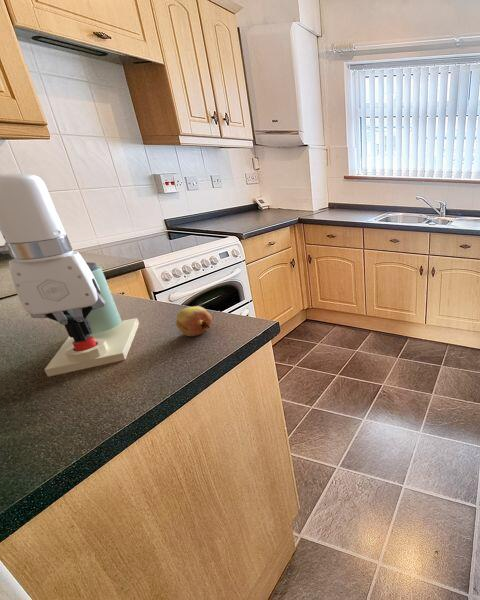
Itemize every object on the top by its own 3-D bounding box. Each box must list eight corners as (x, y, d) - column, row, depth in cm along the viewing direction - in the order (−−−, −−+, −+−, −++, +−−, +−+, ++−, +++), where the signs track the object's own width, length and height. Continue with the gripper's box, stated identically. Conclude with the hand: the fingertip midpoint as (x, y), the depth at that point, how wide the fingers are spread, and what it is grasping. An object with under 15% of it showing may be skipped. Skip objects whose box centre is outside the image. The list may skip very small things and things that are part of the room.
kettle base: (125, 360, 69) (119, 345, 68) (47, 377, 64) (39, 361, 62) (139, 324, 84) (134, 311, 82) (77, 335, 78) (71, 322, 77)
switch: (94, 349, 67) (91, 341, 66) (73, 353, 66) (69, 345, 65) (98, 342, 70) (95, 334, 69) (78, 345, 68) (75, 338, 68)
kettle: (115, 333, 72) (91, 272, 66) (64, 343, 68) (34, 279, 63) (126, 311, 82) (106, 257, 77) (82, 319, 79) (57, 262, 73)
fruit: (160, 312, 76) (184, 322, 71) (188, 295, 81) (212, 303, 76) (176, 335, 80) (200, 345, 75) (202, 317, 85) (226, 326, 80)
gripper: (-31, 260, 53) (23, 358, 61) (90, 247, 59) (125, 337, 67) (-6, 249, 59) (40, 339, 67) (100, 238, 66) (132, 322, 73)
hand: (83, 338), depth 67 cm, fingers closed
